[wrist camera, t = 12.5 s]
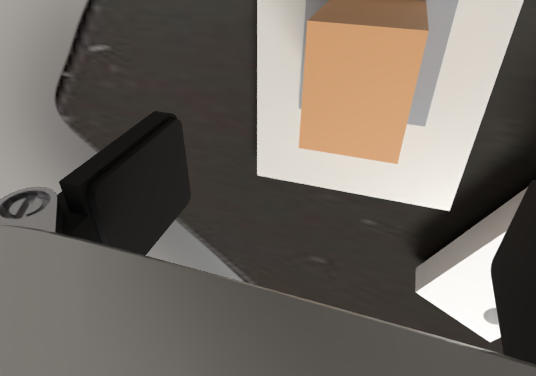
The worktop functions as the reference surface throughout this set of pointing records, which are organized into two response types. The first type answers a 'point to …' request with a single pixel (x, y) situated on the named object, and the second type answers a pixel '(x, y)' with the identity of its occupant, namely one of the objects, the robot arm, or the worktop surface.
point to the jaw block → (361, 76)
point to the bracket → (468, 273)
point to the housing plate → (421, 113)
